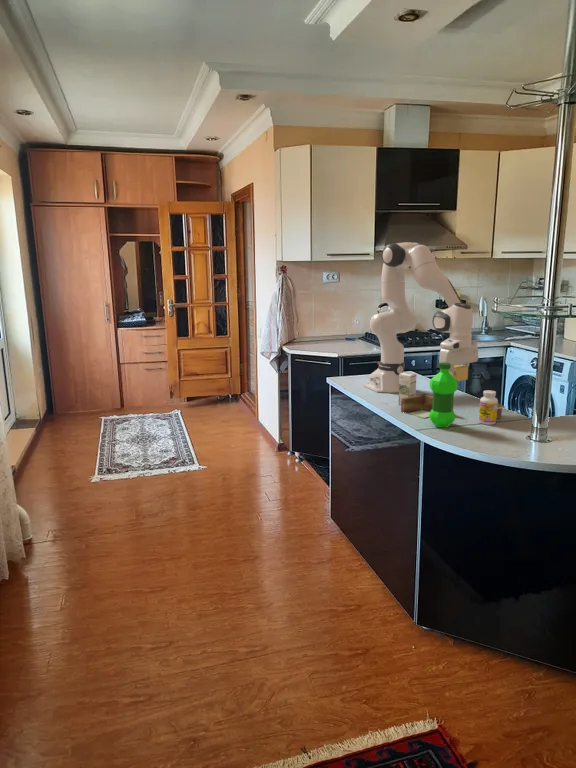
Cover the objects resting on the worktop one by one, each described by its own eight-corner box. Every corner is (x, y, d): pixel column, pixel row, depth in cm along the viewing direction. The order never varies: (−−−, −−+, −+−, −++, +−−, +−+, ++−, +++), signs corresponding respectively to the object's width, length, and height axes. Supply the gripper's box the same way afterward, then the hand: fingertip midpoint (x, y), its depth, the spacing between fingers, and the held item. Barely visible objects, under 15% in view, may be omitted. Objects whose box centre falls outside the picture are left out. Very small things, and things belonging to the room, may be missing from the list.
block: (448, 378, 240) (449, 366, 239) (457, 377, 243) (458, 364, 242) (458, 381, 236) (459, 368, 234) (467, 379, 239) (468, 367, 237)
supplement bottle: (475, 422, 224) (477, 391, 221) (484, 419, 228) (486, 388, 225) (489, 426, 219) (492, 394, 216) (499, 423, 223) (502, 391, 220)
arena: (400, 411, 241) (401, 398, 239) (423, 407, 247) (424, 393, 246) (427, 420, 228) (427, 406, 226) (450, 415, 234) (451, 401, 233)
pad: (410, 413, 237) (410, 413, 237) (423, 410, 241) (423, 410, 241) (423, 418, 231) (423, 417, 231) (437, 415, 235) (437, 414, 235)
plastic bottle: (444, 431, 214) (447, 367, 208) (422, 424, 223) (425, 363, 217) (460, 426, 220) (464, 363, 214) (439, 420, 228) (442, 359, 223)
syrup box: (416, 404, 252) (417, 373, 248) (409, 407, 247) (410, 375, 244) (404, 402, 255) (405, 371, 252) (397, 405, 251) (398, 373, 248)
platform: (464, 416, 234) (465, 401, 232) (500, 412, 239) (501, 397, 238) (482, 424, 223) (483, 409, 221) (519, 419, 228) (521, 404, 227)
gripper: (471, 339, 243) (469, 370, 247) (437, 343, 233) (435, 375, 237) (483, 341, 238) (480, 372, 242) (448, 345, 228) (447, 378, 231)
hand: (458, 374), depth 239 cm, fingers closed on block, 5 cm apart
